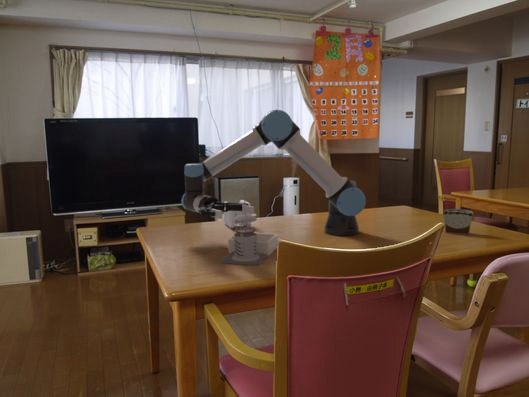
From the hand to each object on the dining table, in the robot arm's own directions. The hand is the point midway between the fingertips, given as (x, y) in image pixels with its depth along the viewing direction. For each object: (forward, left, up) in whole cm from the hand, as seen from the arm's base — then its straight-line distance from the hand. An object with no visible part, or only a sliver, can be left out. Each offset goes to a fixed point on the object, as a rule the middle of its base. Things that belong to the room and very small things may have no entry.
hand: (237, 212), depth 149 cm
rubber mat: (-3, +2, -16) cm, 17 cm away
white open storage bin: (-2, -11, -16) cm, 20 cm away
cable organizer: (+20, -50, -16) cm, 57 cm away
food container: (-79, -63, -16) cm, 102 cm away
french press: (-3, +2, -15) cm, 16 cm away
